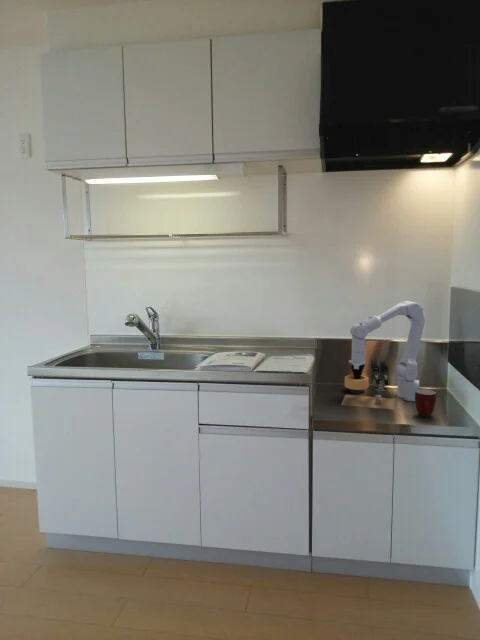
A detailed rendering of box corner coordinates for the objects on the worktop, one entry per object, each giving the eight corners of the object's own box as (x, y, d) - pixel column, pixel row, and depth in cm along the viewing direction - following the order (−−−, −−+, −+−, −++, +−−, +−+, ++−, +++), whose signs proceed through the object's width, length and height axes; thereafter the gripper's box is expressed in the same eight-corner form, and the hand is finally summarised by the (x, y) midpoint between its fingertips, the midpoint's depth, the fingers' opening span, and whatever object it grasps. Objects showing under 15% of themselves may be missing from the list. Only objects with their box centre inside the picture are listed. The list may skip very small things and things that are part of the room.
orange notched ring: (369, 384, 224) (369, 375, 223) (367, 390, 215) (367, 381, 214) (346, 382, 227) (346, 374, 227) (343, 388, 218) (343, 379, 217)
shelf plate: (395, 401, 224) (396, 391, 223) (394, 412, 209) (394, 401, 208) (345, 397, 231) (345, 387, 230) (340, 407, 216) (341, 396, 215)
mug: (439, 421, 198) (440, 396, 196) (418, 421, 198) (419, 396, 197) (432, 412, 208) (433, 389, 207) (412, 412, 209) (413, 389, 207)
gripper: (350, 347, 231) (350, 376, 233) (347, 354, 217) (346, 384, 219) (366, 348, 228) (366, 377, 230) (363, 355, 215) (363, 386, 217)
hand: (357, 381), depth 225 cm, fingers closed on orange notched ring, 2 cm apart
